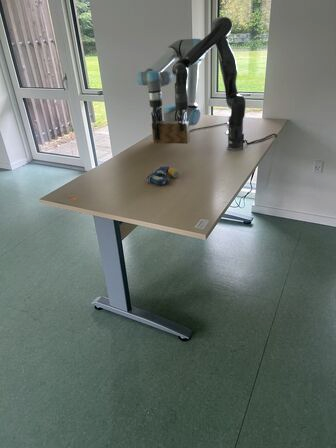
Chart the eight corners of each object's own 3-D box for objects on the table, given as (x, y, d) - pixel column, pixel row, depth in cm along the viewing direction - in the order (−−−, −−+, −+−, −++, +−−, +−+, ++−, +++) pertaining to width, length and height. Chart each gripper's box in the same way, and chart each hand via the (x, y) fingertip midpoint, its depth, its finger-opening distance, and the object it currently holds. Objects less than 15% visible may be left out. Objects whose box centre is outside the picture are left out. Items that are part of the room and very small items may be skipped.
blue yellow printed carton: (184, 172, 190) (161, 169, 197) (183, 165, 188) (160, 163, 195) (168, 188, 175) (143, 185, 181) (167, 180, 173) (142, 177, 179)
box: (153, 143, 210) (151, 123, 204) (156, 140, 215) (154, 121, 208) (187, 143, 204) (186, 123, 198) (189, 140, 209) (188, 120, 202)
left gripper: (156, 102, 190) (160, 142, 202) (166, 95, 205) (168, 133, 217) (144, 103, 192) (148, 142, 204) (154, 96, 207) (158, 133, 219)
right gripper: (184, 103, 188) (186, 133, 196) (190, 97, 199) (191, 126, 208) (171, 103, 190) (174, 133, 198) (178, 98, 201) (180, 126, 210)
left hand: (159, 137), depth 210 cm, fingers closed on box, 6 cm apart
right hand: (183, 129), depth 203 cm, fingers closed on box, 5 cm apart
